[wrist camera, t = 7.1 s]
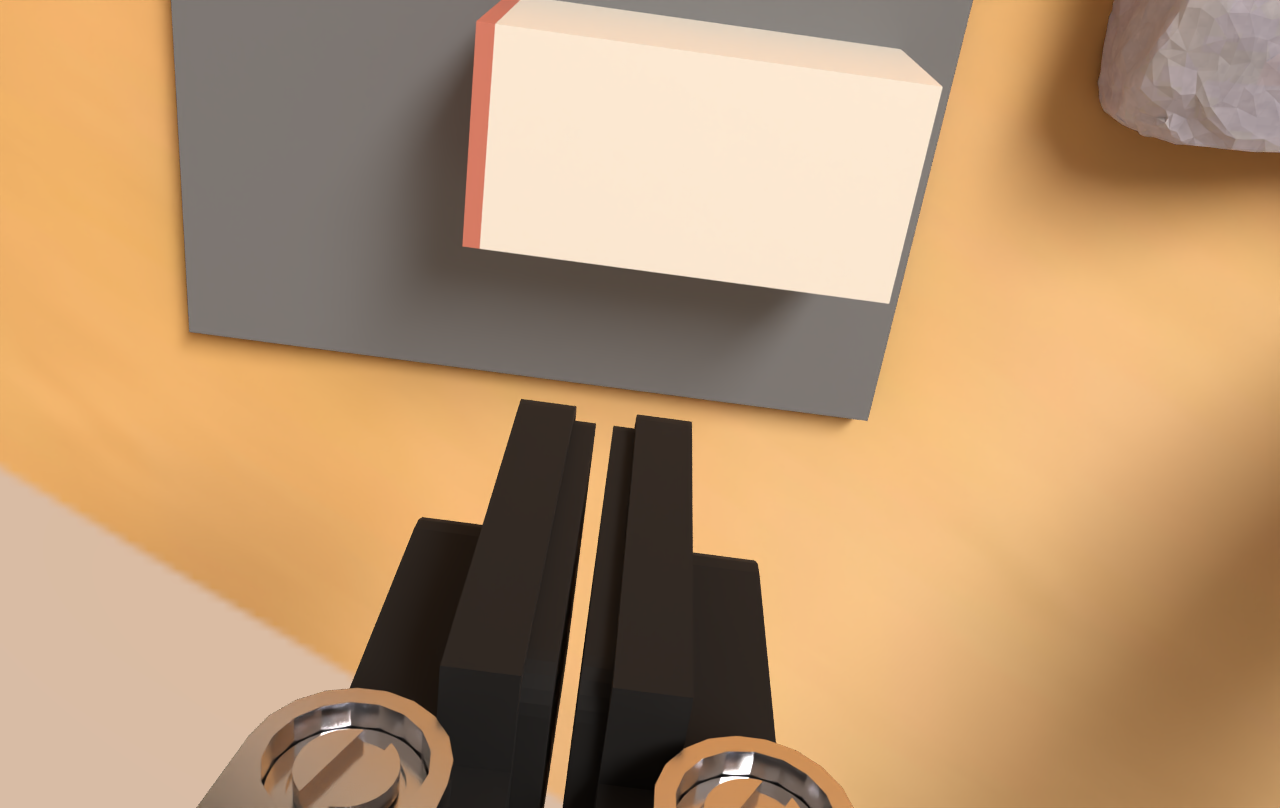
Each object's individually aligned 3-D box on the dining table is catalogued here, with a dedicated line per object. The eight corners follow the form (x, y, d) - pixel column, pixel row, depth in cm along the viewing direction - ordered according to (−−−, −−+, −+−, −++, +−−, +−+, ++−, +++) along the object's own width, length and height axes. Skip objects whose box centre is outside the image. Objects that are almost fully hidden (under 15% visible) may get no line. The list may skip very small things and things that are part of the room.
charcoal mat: (1010, -185, 27) (1019, -186, 26) (863, 408, 34) (867, 420, 33) (167, -310, 26) (153, -315, 25) (199, 321, 33) (189, 332, 32)
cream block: (508, -7, 28) (901, 49, 28) (494, 187, 30) (858, 236, 30) (476, 21, 24) (942, 86, 24) (462, 246, 26) (888, 303, 26)
